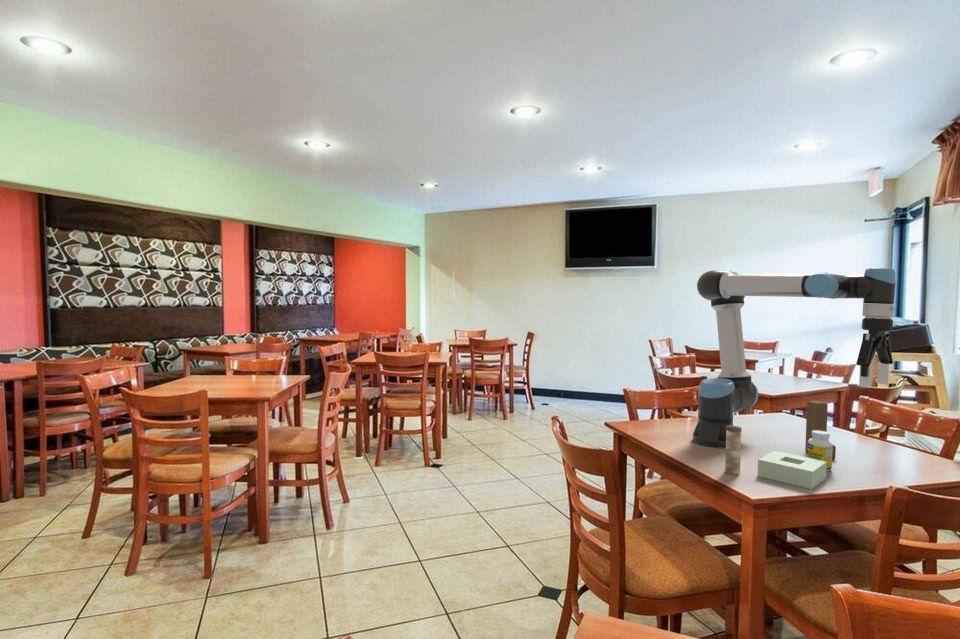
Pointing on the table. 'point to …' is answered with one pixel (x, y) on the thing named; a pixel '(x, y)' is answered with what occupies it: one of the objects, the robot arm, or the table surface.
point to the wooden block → (816, 420)
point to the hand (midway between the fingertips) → (873, 385)
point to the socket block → (792, 469)
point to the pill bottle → (820, 447)
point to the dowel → (733, 450)
